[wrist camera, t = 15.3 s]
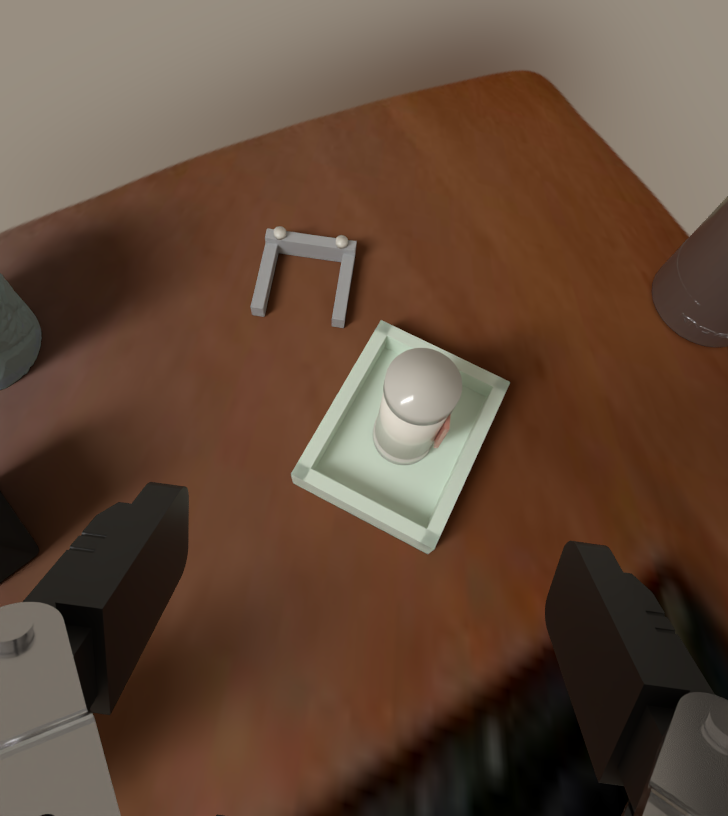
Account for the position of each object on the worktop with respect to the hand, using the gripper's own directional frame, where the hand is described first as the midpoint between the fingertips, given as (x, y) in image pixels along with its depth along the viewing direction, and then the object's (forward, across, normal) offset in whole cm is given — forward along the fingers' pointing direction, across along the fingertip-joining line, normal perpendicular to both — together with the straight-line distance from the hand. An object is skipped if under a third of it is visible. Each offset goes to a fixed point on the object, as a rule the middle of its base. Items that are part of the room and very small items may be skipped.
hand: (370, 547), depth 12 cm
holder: (+38, +7, +3) cm, 38 cm away
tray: (+29, -3, +11) cm, 31 cm away
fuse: (+28, -3, +11) cm, 31 cm away
